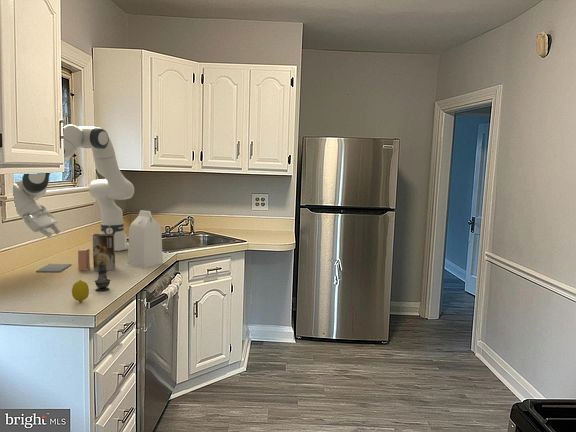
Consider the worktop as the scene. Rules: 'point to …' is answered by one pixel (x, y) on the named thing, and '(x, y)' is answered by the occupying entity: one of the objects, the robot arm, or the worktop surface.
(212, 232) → the worktop surface
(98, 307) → the worktop surface
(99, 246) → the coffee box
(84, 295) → the lemon
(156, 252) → the milk
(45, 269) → the mat
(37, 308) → the worktop surface
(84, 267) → the stub
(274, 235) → the worktop surface
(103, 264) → the dark ornate vase
